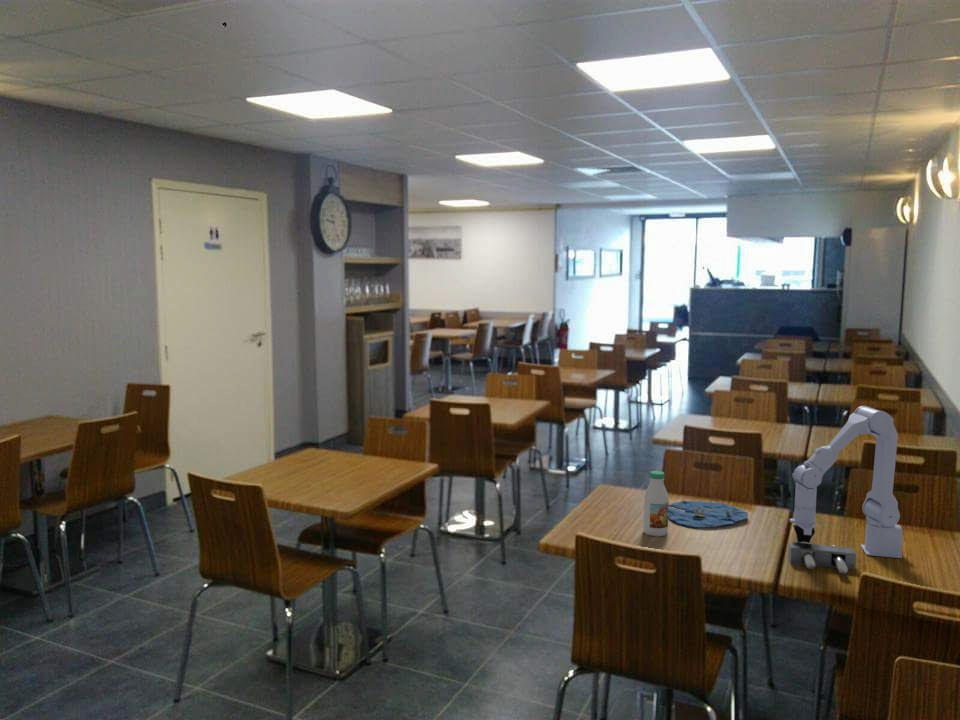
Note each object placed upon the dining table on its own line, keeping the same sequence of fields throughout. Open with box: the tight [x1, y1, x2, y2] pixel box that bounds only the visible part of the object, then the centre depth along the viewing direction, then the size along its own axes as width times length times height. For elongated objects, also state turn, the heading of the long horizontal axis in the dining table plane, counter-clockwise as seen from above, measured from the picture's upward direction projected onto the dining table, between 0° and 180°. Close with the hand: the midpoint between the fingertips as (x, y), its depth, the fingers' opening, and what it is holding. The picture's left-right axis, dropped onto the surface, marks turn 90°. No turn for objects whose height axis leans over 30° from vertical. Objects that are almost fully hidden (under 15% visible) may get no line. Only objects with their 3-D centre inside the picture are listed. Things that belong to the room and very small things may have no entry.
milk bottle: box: [642, 470, 670, 537], centre depth 238 cm, size 8×8×20 cm
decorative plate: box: [668, 500, 749, 529], centre depth 256 cm, size 30×30×5 cm
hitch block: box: [787, 541, 857, 571], centre depth 214 cm, size 17×5×5 cm, turn 74°
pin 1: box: [797, 541, 817, 570], centre depth 213 cm, size 13×4×4 cm, turn 164°
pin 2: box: [830, 544, 849, 574], centre depth 210 cm, size 13×4×4 cm, turn 164°
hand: (802, 550), depth 221 cm, fingers closed
